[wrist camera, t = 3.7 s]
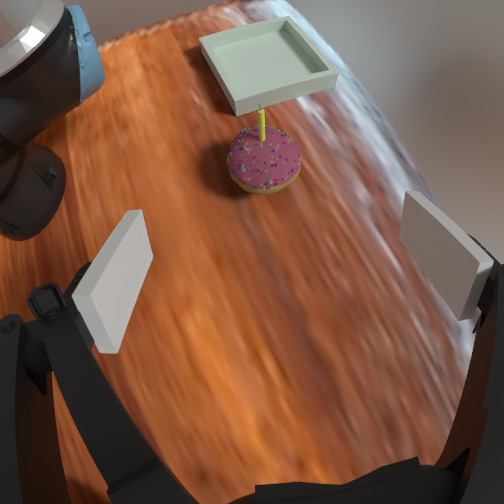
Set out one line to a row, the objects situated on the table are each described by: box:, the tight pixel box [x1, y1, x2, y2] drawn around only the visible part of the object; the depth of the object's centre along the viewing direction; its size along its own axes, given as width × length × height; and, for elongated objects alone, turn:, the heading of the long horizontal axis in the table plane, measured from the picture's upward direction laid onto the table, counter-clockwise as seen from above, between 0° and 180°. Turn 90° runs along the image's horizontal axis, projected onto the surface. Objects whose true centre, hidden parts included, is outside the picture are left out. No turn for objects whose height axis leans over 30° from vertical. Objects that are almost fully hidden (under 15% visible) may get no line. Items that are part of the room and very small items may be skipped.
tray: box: [199, 16, 339, 117], centre depth 43 cm, size 16×16×4 cm
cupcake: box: [227, 103, 301, 195], centre depth 34 cm, size 9×8×12 cm
